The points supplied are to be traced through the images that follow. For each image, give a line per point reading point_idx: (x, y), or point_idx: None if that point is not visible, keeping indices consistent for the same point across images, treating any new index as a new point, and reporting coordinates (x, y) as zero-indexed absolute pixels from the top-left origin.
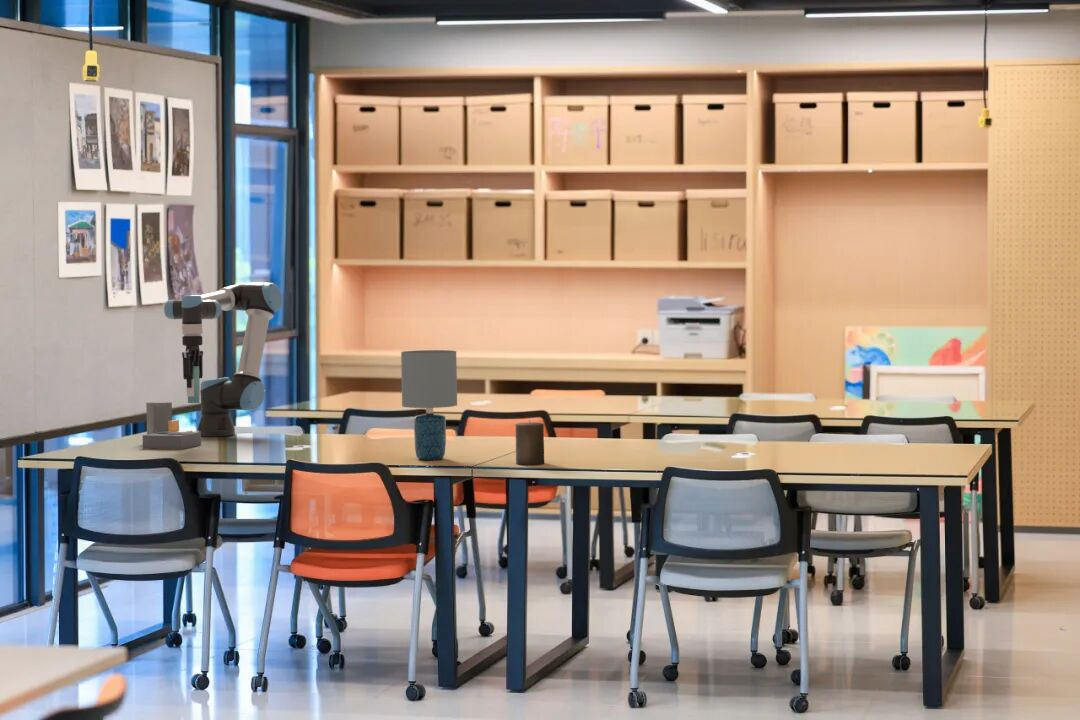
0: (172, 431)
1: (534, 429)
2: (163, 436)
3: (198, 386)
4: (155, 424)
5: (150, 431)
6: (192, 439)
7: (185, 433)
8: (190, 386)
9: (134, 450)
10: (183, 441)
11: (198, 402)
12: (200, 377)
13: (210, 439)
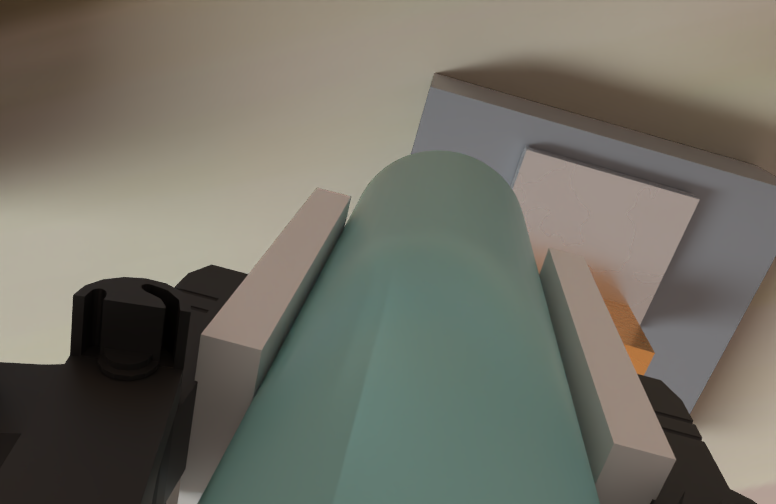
0: (620, 304)
1: None
2: (725, 339)
3: (468, 245)
4: None
5: None
6: (581, 122)
7: (654, 183)
8: (666, 396)
9: (732, 457)
10: (736, 167)
11: (475, 159)
12: (184, 328)
13: (64, 79)
